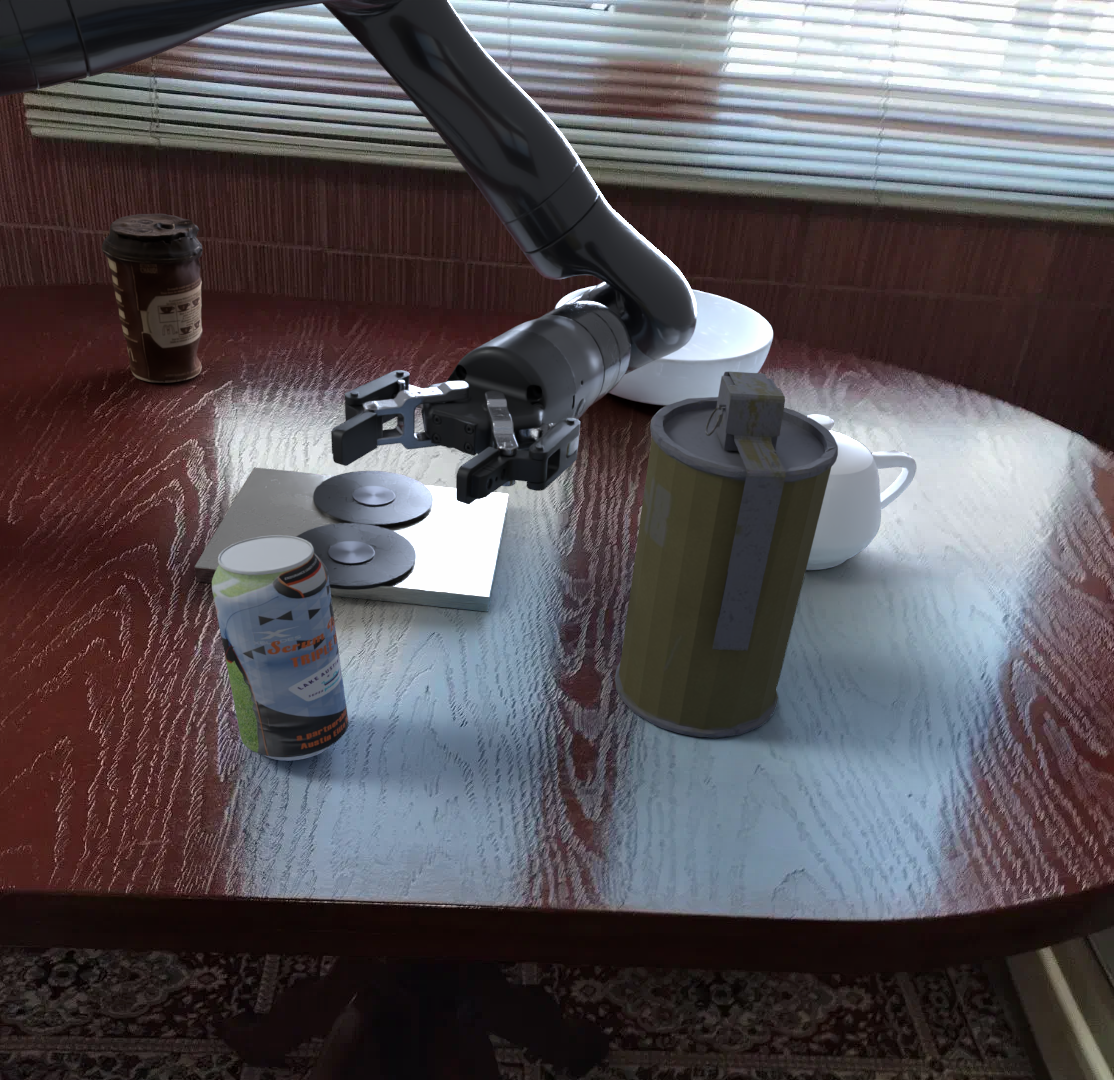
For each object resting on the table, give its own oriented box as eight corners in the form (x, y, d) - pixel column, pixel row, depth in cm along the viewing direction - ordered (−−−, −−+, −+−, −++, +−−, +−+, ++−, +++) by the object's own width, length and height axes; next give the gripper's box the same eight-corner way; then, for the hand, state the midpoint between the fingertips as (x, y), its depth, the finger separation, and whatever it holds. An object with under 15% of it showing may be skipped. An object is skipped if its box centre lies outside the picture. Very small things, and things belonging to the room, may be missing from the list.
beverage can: (300, 790, 66) (290, 601, 59) (200, 740, 68) (179, 552, 61) (372, 735, 70) (371, 553, 63) (276, 690, 73) (264, 510, 66)
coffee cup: (235, 370, 112) (224, 223, 104) (177, 397, 106) (161, 244, 98) (160, 349, 115) (143, 204, 107) (98, 374, 109) (76, 223, 101)
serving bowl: (505, 372, 118) (509, 301, 114) (652, 337, 130) (661, 272, 126) (657, 449, 106) (668, 373, 102) (803, 403, 118) (819, 333, 114)
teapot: (701, 593, 87) (725, 462, 81) (639, 514, 96) (656, 391, 90) (938, 570, 93) (977, 447, 87) (858, 498, 102) (888, 382, 96)
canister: (606, 642, 80) (645, 346, 68) (758, 647, 82) (823, 357, 70) (624, 741, 72) (673, 422, 60) (794, 746, 73) (876, 434, 61)
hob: (191, 589, 81) (188, 568, 80) (258, 475, 96) (256, 456, 95) (486, 619, 81) (488, 599, 80) (509, 501, 96) (510, 483, 95)
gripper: (440, 306, 82) (294, 376, 70) (631, 355, 77) (509, 439, 65) (438, 412, 86) (300, 495, 75) (618, 463, 82) (502, 560, 70)
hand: (398, 468), depth 70 cm, fingers open, 8 cm apart
